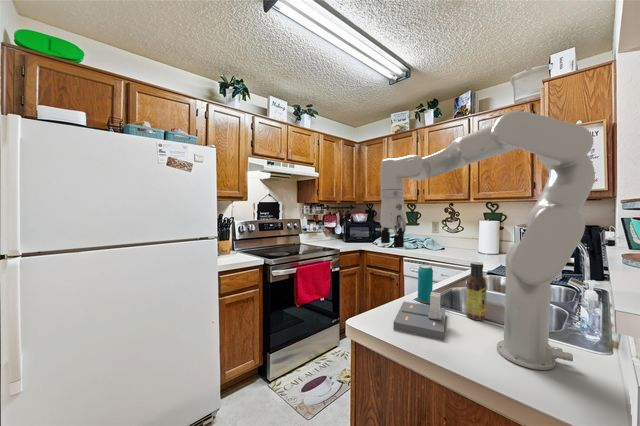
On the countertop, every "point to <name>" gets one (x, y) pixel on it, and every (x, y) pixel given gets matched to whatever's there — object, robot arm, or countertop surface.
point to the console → (419, 321)
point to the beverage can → (425, 283)
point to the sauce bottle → (476, 293)
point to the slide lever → (435, 306)
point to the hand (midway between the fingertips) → (391, 245)
